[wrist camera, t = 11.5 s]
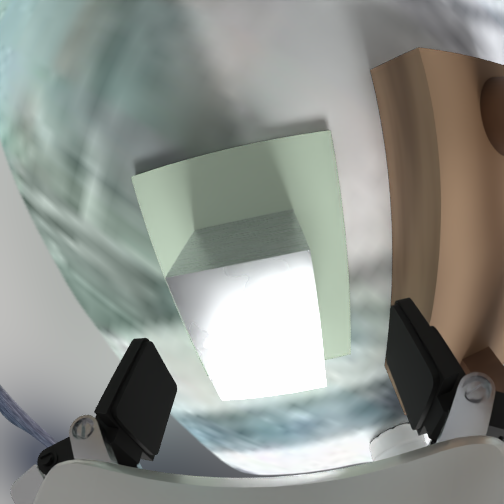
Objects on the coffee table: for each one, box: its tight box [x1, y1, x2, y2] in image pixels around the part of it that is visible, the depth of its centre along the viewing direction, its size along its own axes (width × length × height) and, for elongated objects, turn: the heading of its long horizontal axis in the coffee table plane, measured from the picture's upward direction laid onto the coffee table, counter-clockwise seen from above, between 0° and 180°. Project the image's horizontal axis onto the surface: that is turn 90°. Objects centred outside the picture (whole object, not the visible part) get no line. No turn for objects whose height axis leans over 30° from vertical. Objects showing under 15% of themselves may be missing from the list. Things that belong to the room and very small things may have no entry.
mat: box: [131, 130, 351, 376], centre depth 15 cm, size 10×14×1 cm
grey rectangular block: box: [165, 209, 326, 401], centre depth 13 cm, size 5×7×5 cm
